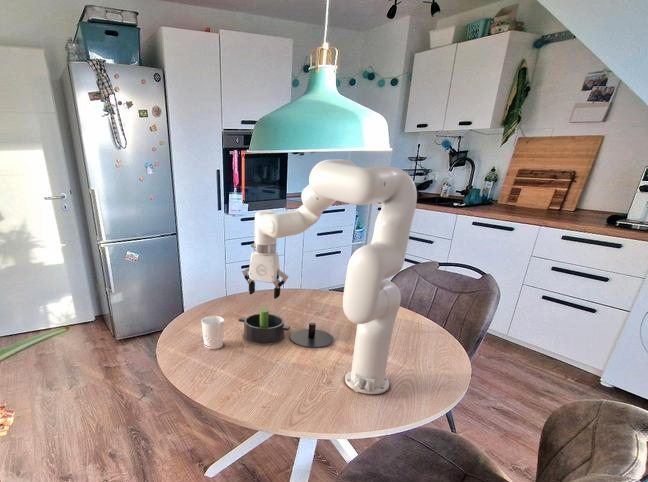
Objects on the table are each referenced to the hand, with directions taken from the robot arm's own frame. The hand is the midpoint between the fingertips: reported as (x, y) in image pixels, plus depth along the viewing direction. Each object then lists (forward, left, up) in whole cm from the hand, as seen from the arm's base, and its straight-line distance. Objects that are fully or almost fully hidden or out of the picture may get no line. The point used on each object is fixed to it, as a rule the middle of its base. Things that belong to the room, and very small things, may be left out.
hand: (264, 295), depth 140 cm
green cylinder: (0, 0, -16) cm, 16 cm away
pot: (0, 0, -16) cm, 16 cm away
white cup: (-15, +13, -17) cm, 26 cm away
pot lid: (+5, -17, -16) cm, 24 cm away
